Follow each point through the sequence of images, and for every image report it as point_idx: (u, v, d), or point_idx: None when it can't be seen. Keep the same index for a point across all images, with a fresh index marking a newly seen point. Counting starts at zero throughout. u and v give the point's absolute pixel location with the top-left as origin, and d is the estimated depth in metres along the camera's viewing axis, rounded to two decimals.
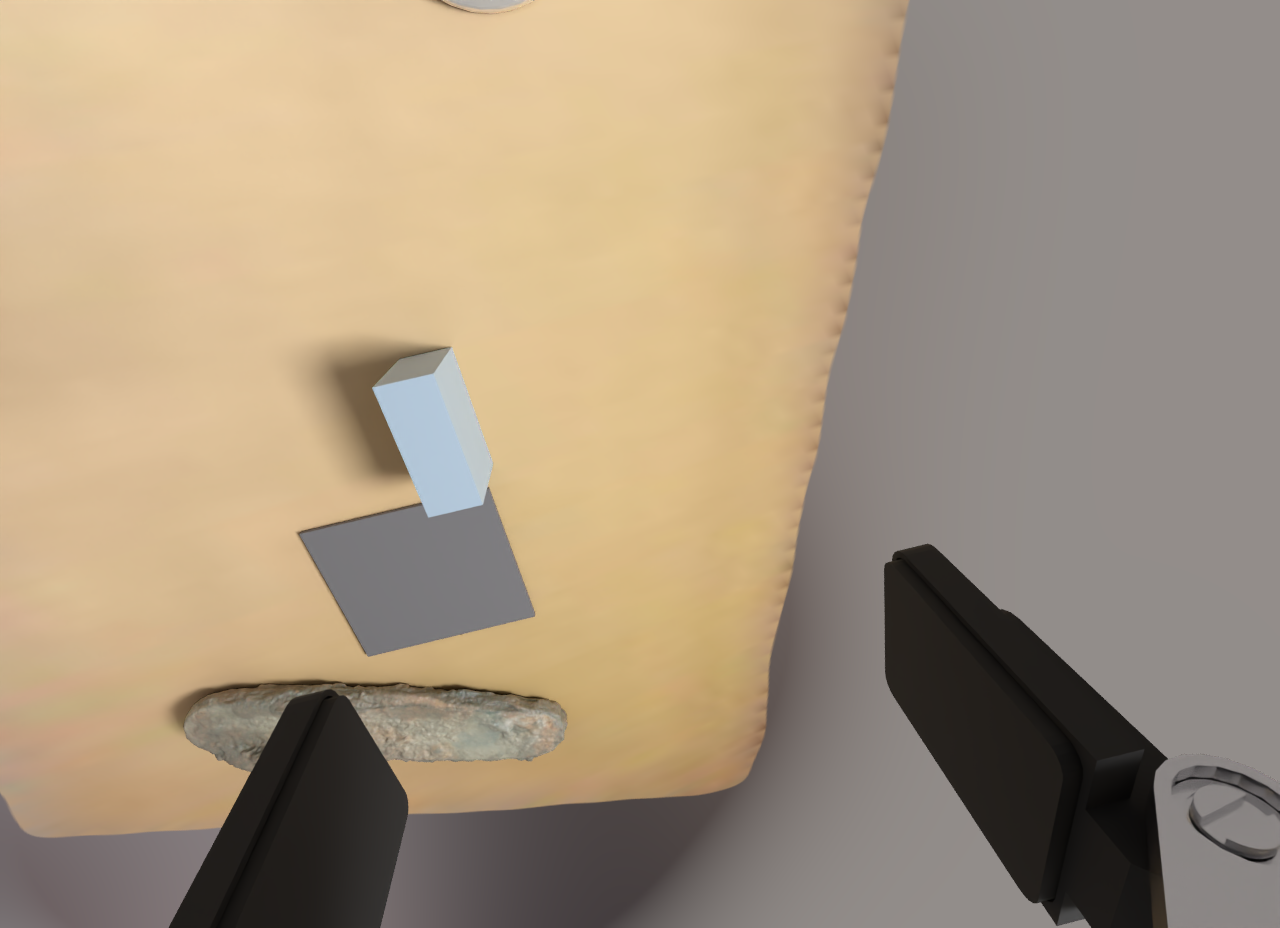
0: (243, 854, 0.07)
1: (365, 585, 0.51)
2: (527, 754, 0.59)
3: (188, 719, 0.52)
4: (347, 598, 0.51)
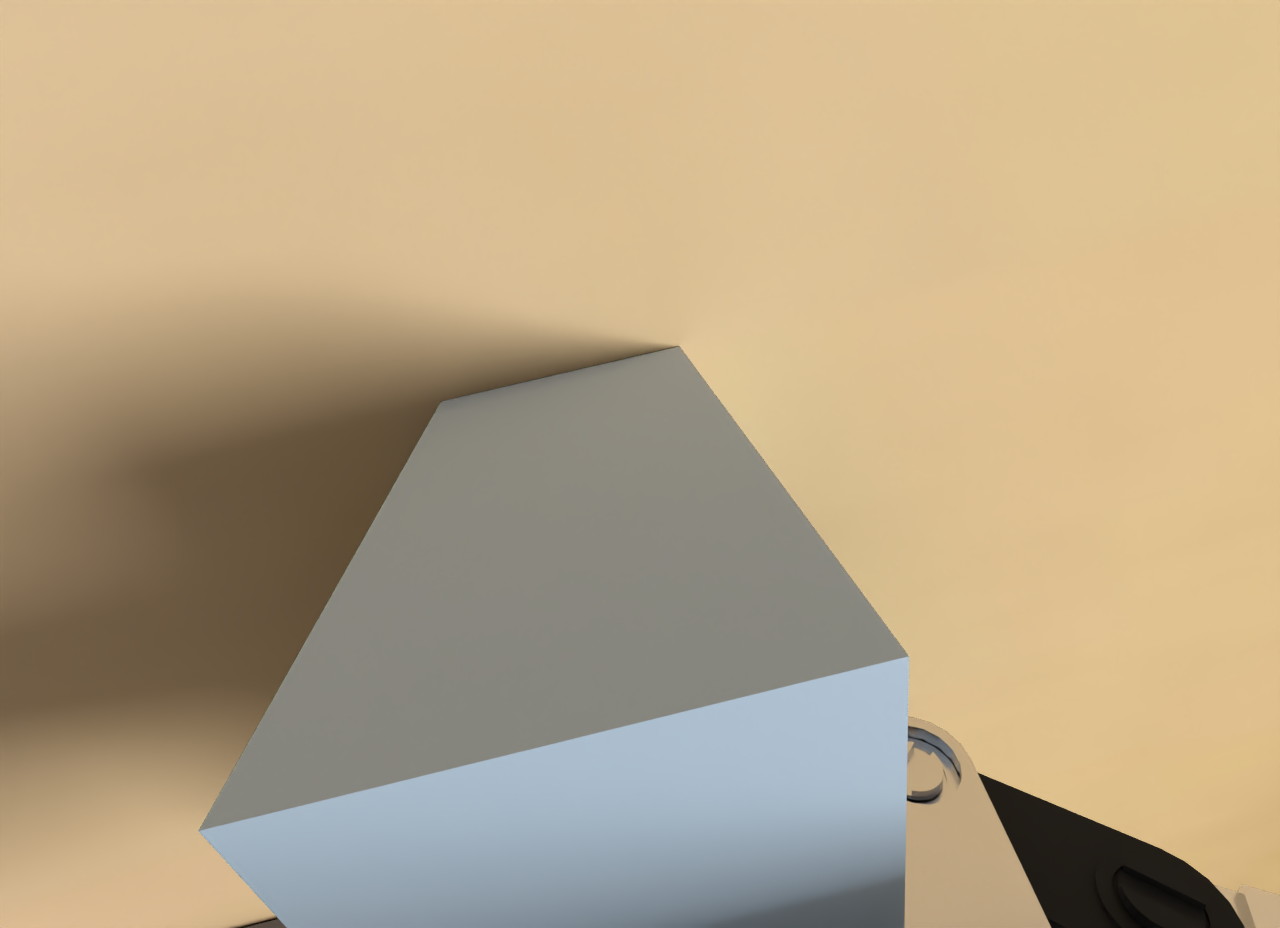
0: None
1: None
2: None
3: None
4: None
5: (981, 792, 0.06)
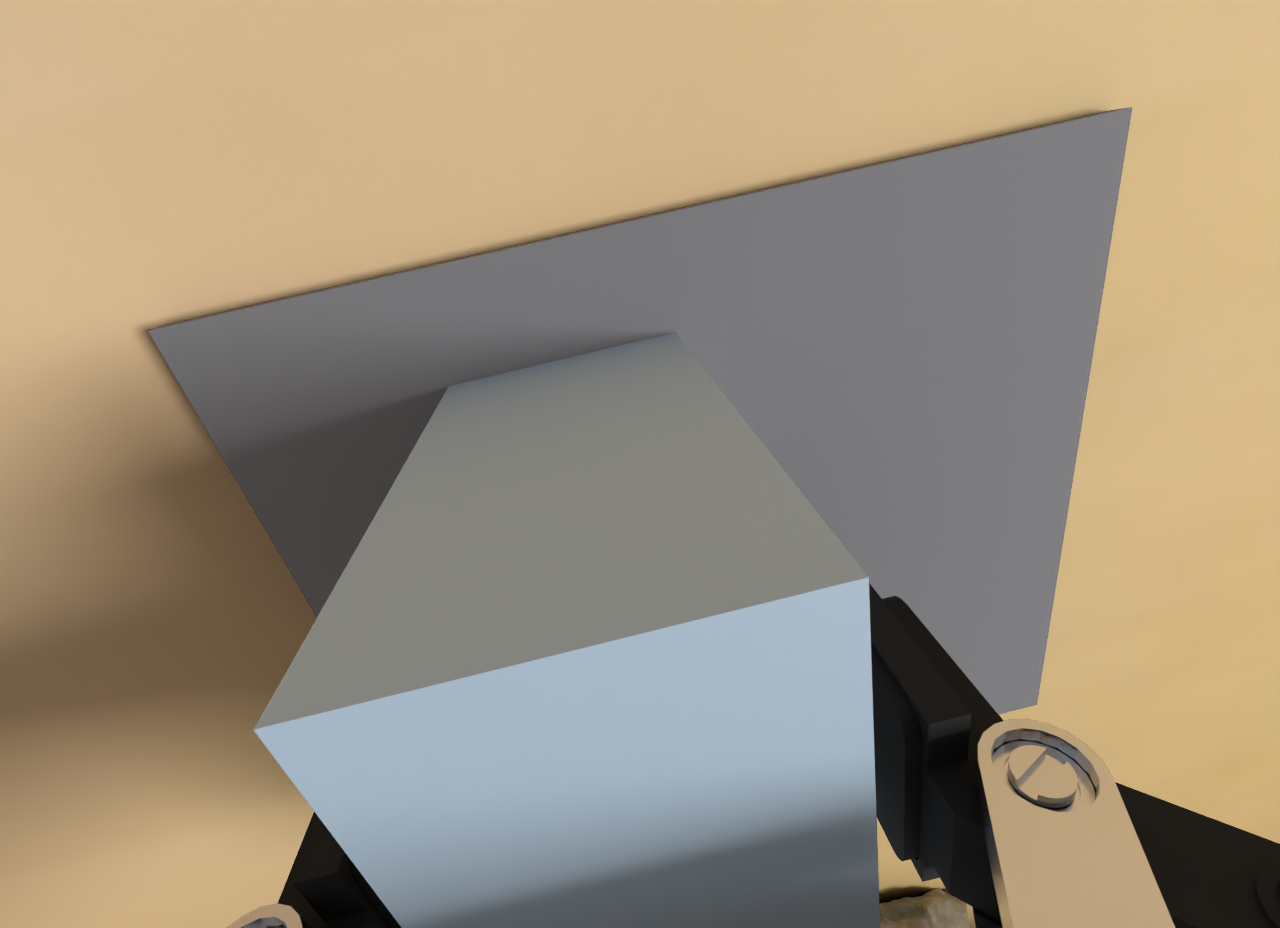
0: None
1: None
2: None
3: None
4: None
5: (1121, 812, 0.06)
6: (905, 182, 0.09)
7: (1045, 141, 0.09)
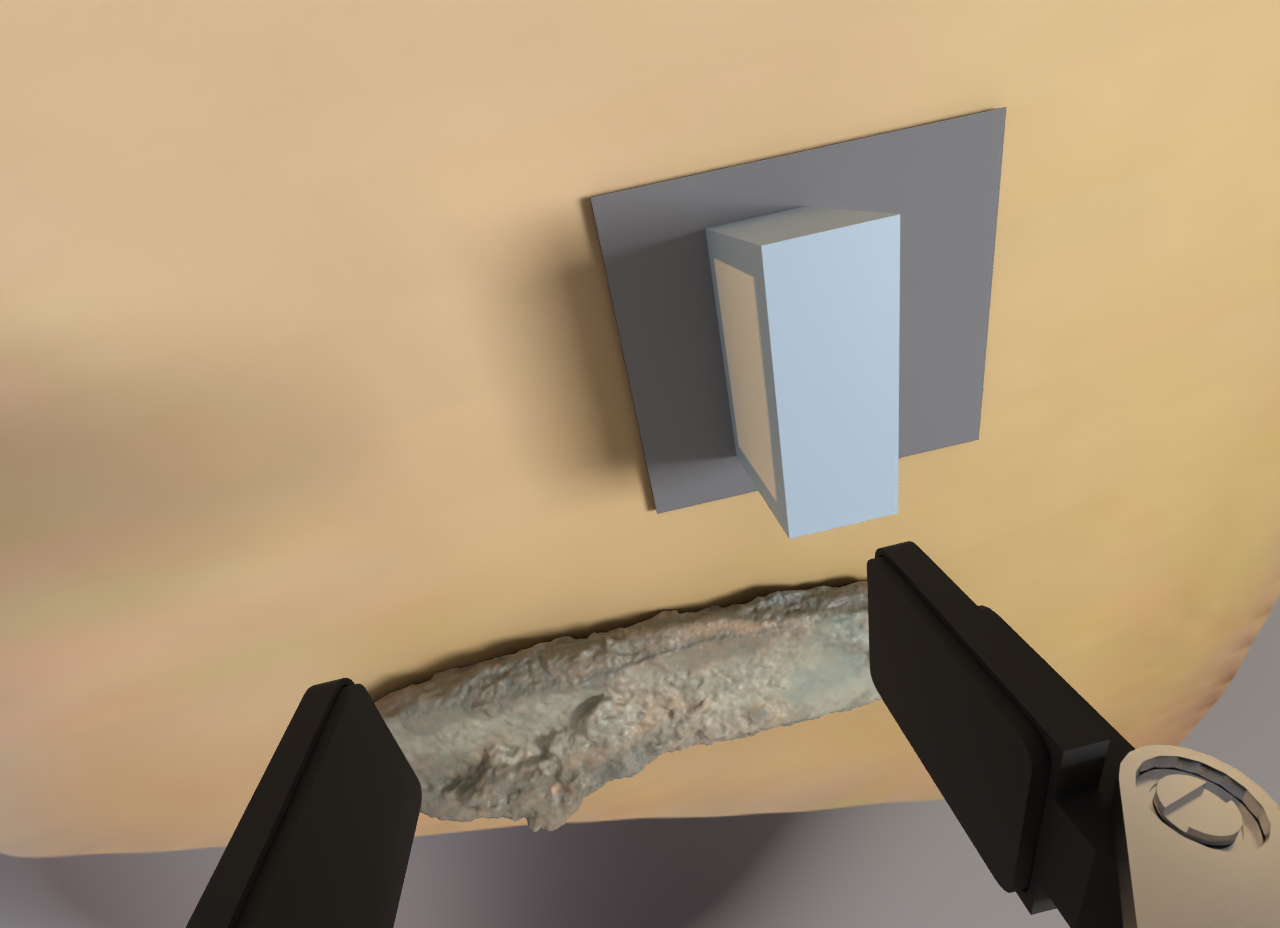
0: (267, 835, 0.07)
1: (693, 346, 0.24)
2: None
3: None
4: (651, 375, 0.25)
5: None
6: (908, 138, 0.22)
7: (969, 121, 0.22)
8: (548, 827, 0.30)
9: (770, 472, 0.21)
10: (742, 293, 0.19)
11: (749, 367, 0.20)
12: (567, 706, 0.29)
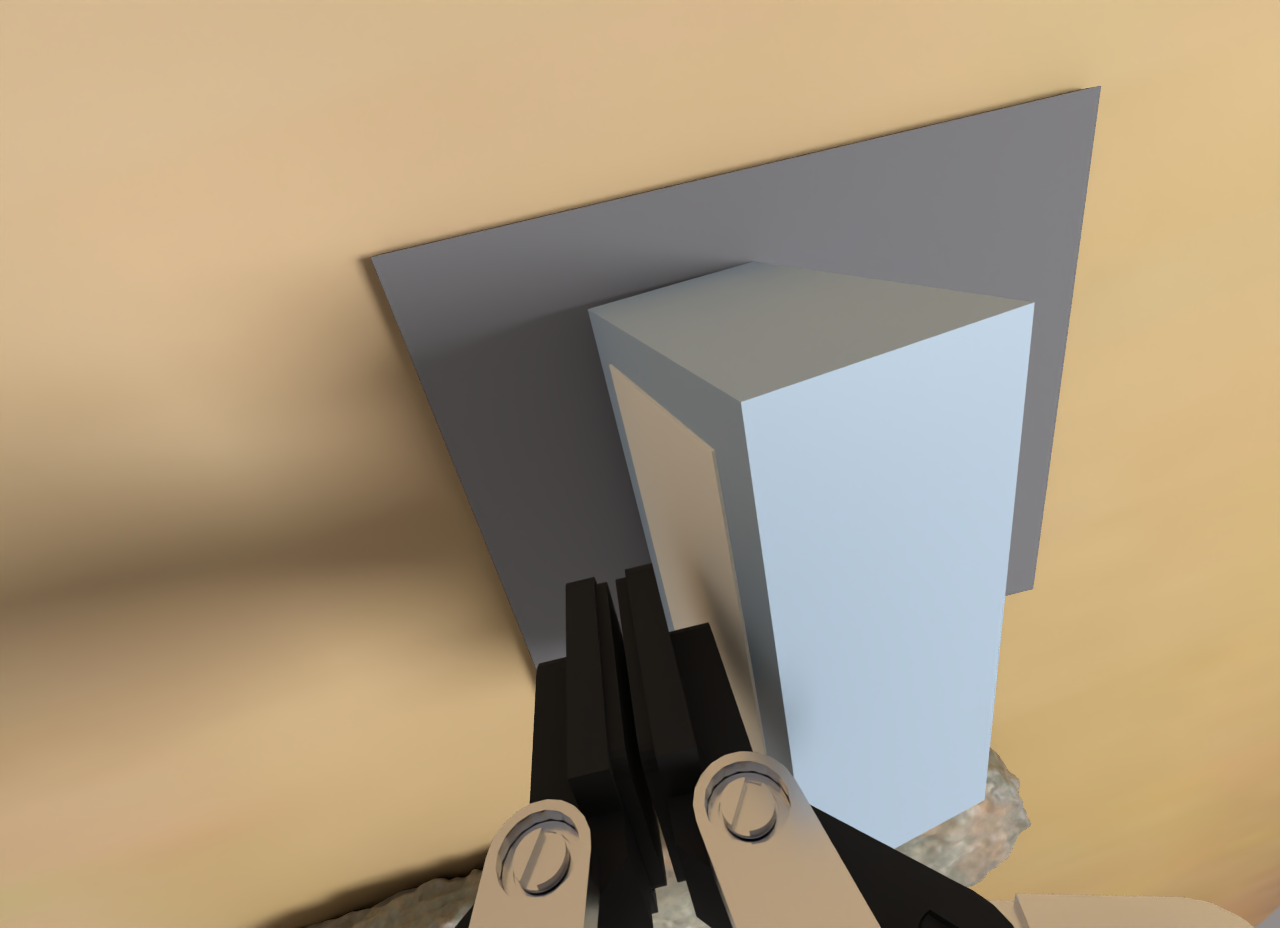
0: (599, 684, 0.08)
1: (581, 483, 0.15)
2: None
3: None
4: (517, 527, 0.15)
5: (809, 812, 0.06)
6: (930, 144, 0.12)
7: (1035, 112, 0.12)
8: None
9: None
10: (681, 459, 0.09)
11: (702, 580, 0.10)
12: None
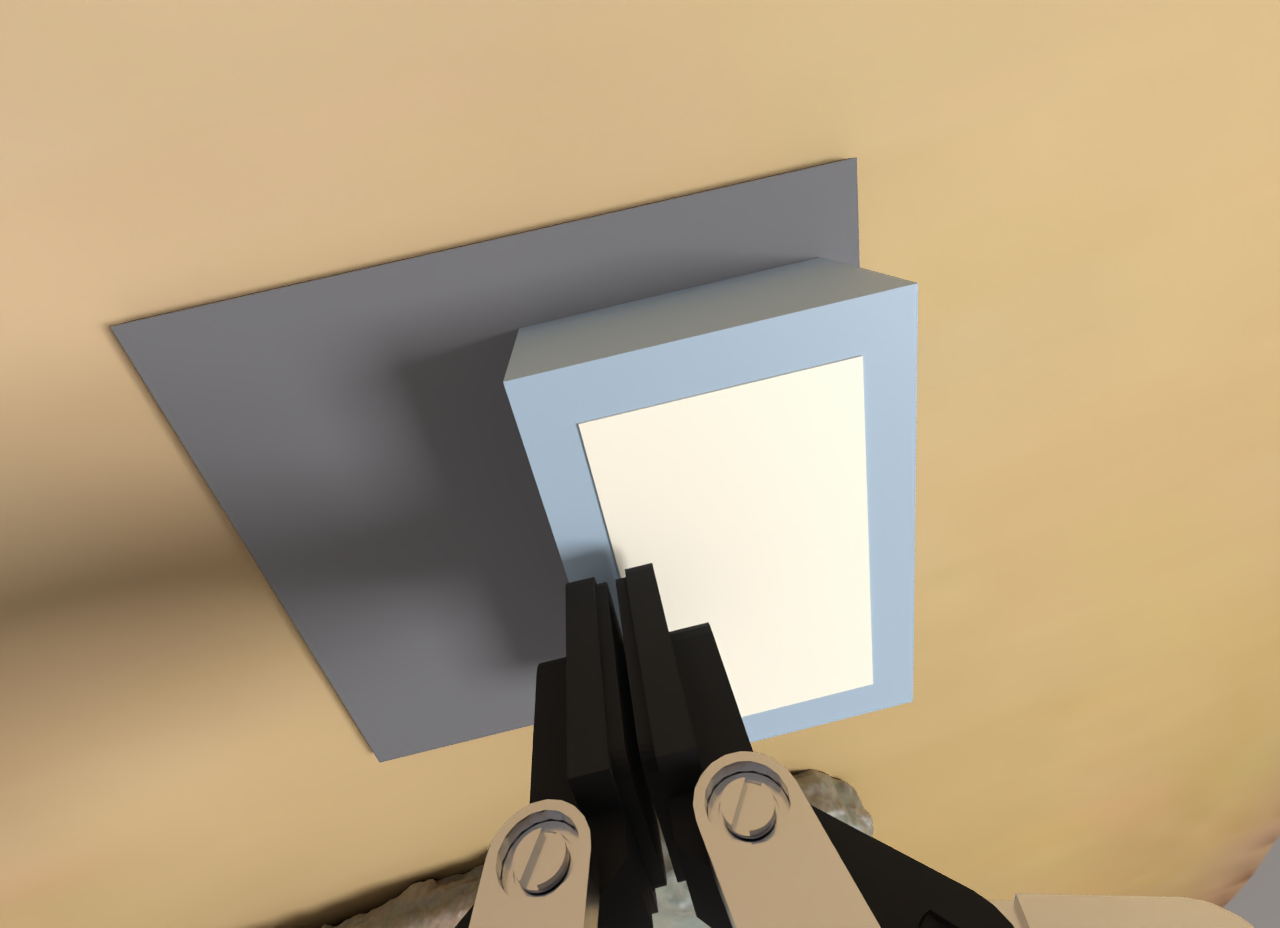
0: (598, 684, 0.08)
1: (373, 544, 0.15)
2: None
3: None
4: (312, 587, 0.15)
5: (809, 812, 0.06)
6: (686, 214, 0.12)
7: (792, 183, 0.12)
8: None
9: (854, 656, 0.13)
10: (788, 412, 0.10)
11: (787, 537, 0.11)
12: None
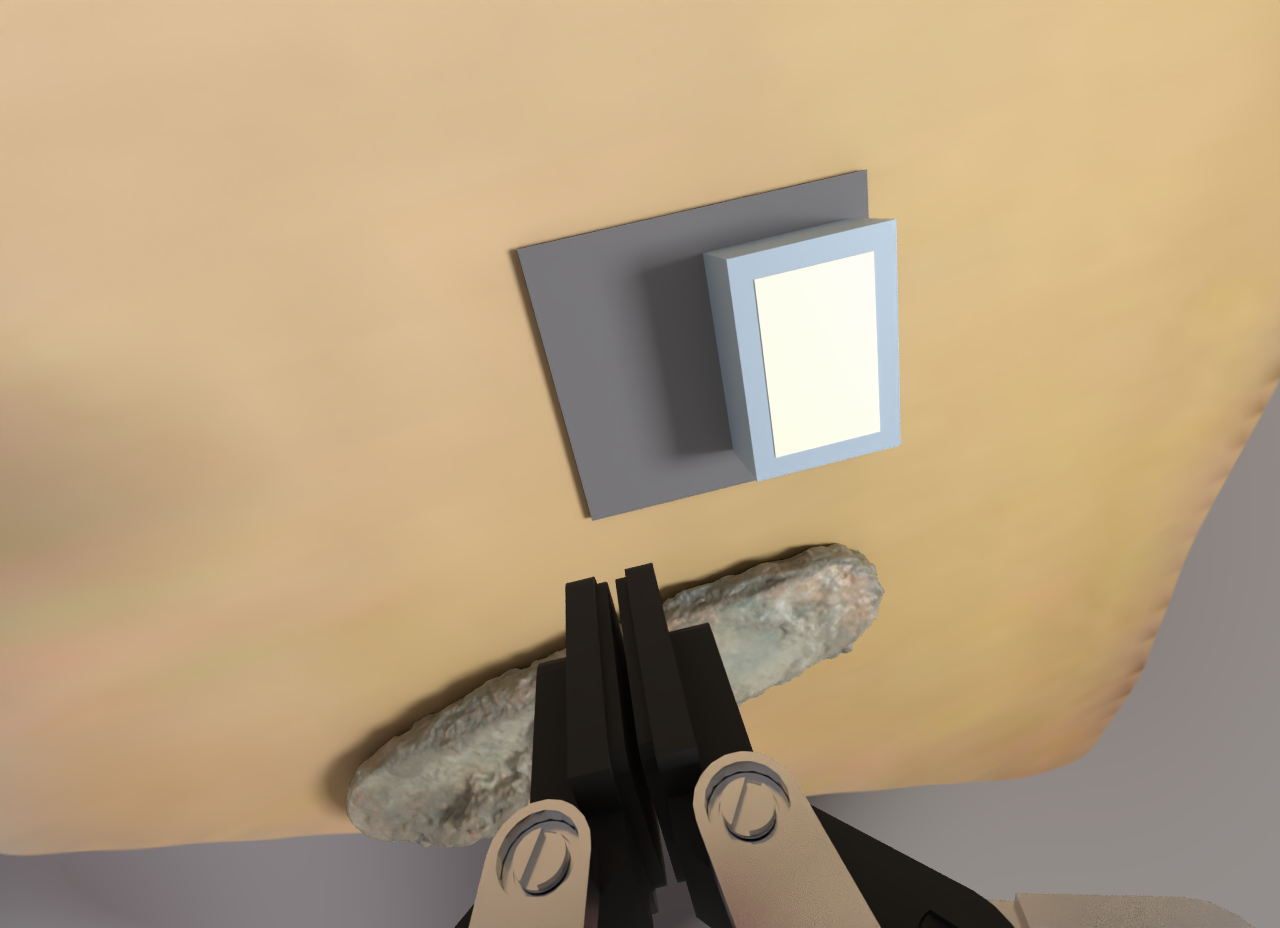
0: (599, 684, 0.08)
1: (614, 373, 0.28)
2: (840, 642, 0.34)
3: (349, 810, 0.34)
4: (578, 398, 0.28)
5: (809, 812, 0.06)
6: (786, 196, 0.26)
7: (836, 181, 0.26)
8: None
9: (870, 413, 0.26)
10: (841, 276, 0.23)
11: (839, 341, 0.25)
12: (521, 730, 0.33)
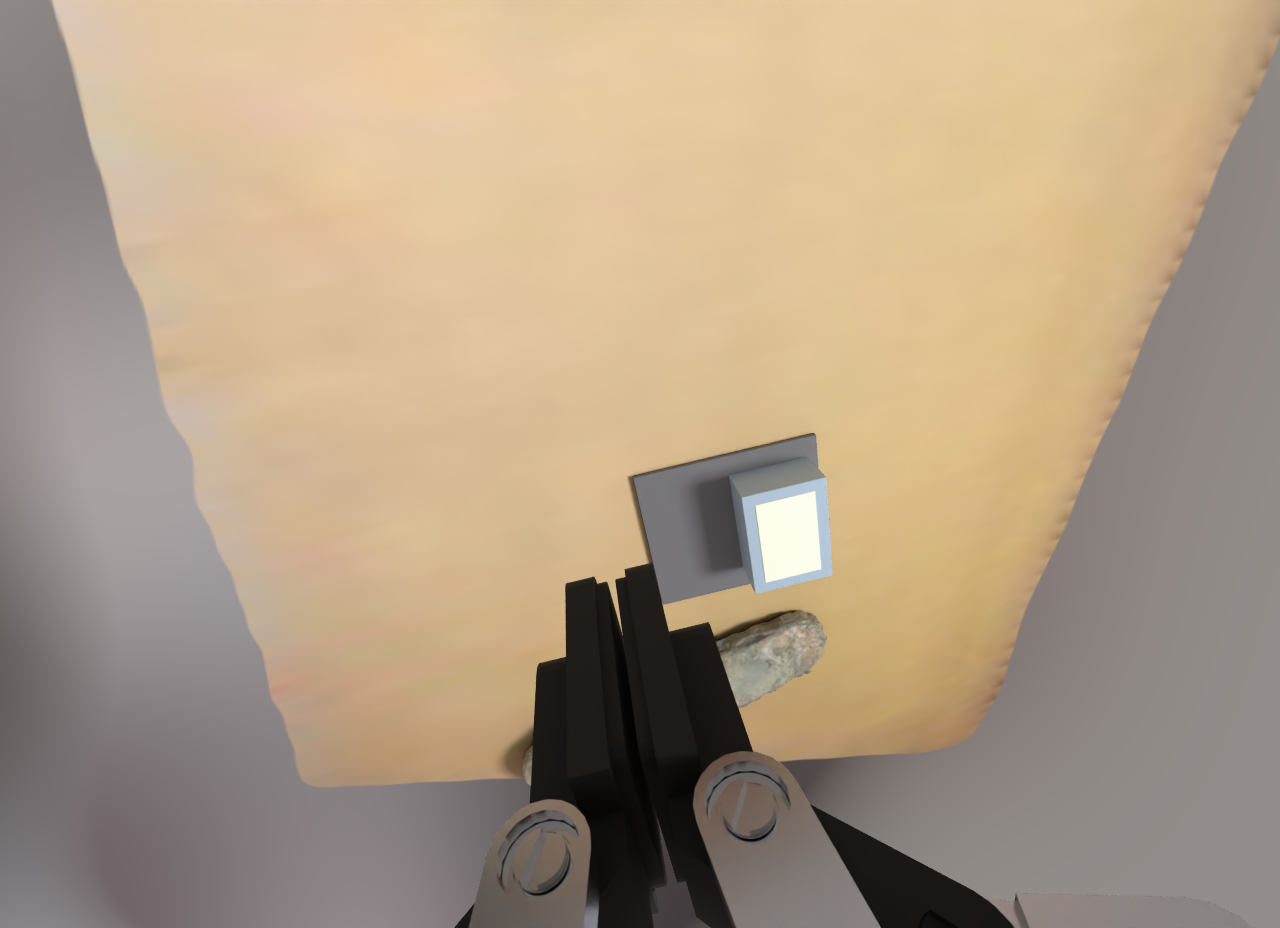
0: (598, 684, 0.08)
1: (679, 532, 0.52)
2: (803, 668, 0.58)
3: (525, 775, 0.60)
4: (659, 544, 0.52)
5: (809, 812, 0.06)
6: (773, 448, 0.49)
7: (799, 441, 0.49)
8: None
9: (815, 560, 0.50)
10: (799, 502, 0.47)
11: (798, 529, 0.48)
12: None
